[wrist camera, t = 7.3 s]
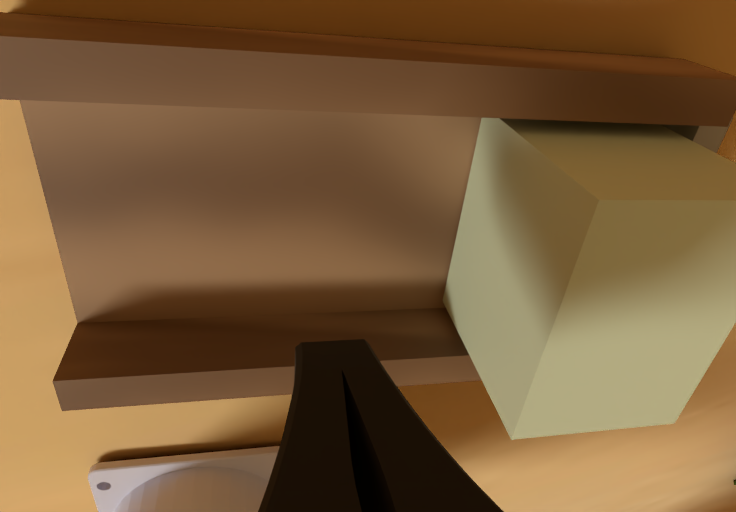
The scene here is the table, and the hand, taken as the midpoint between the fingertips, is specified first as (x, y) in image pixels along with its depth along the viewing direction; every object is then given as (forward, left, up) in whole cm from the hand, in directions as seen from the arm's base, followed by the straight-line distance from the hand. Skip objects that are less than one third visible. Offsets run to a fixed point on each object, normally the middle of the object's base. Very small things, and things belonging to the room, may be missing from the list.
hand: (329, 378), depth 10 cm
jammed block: (0, -8, -7) cm, 10 cm away
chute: (0, -2, -7) cm, 7 cm away
